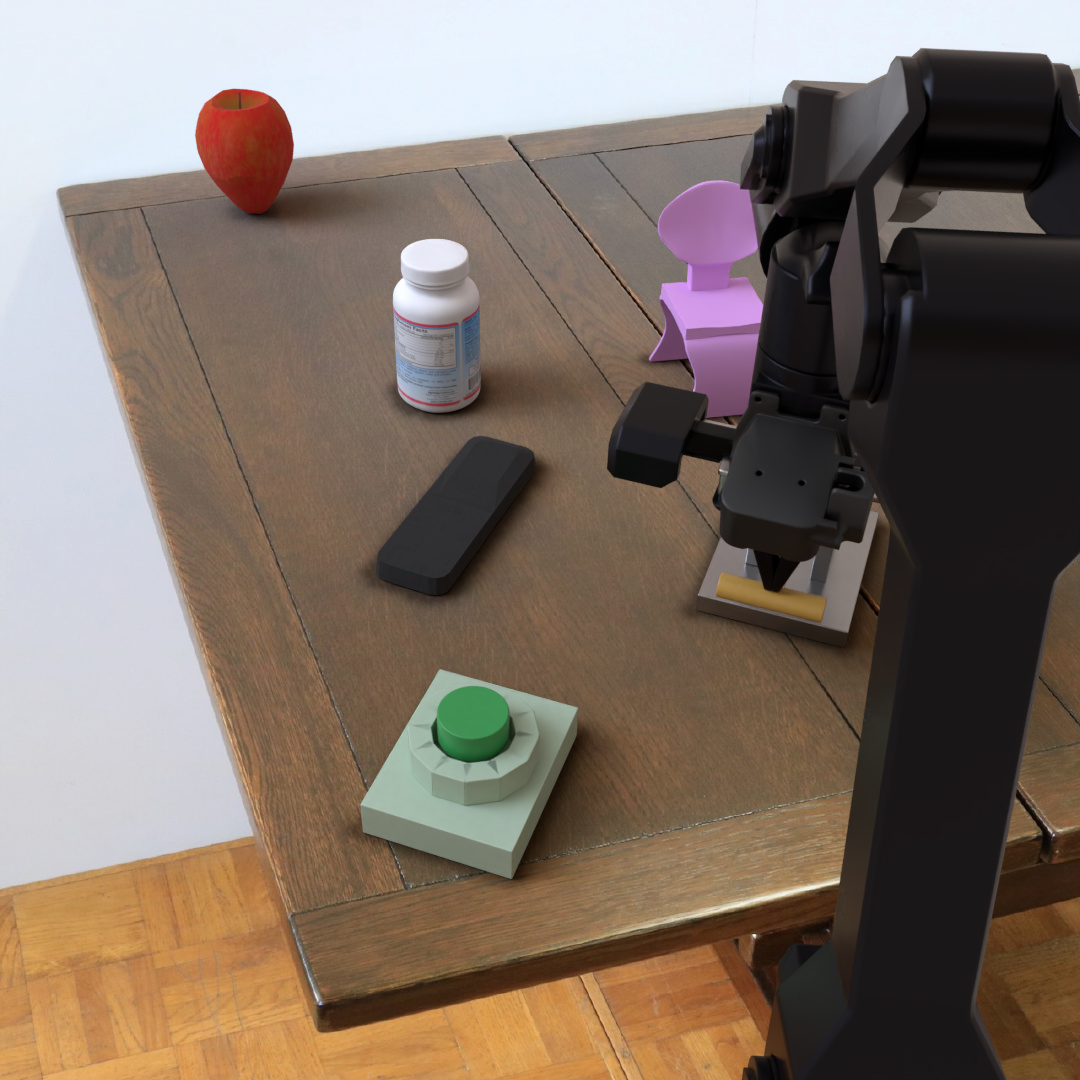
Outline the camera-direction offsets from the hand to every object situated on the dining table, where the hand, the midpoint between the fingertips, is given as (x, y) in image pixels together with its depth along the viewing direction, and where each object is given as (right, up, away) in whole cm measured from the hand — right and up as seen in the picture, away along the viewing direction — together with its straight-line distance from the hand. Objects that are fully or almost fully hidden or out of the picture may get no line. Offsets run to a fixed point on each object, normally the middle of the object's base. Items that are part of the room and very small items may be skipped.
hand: (772, 587), depth 74 cm
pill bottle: (-20, +13, +24) cm, 34 cm away
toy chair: (-1, +14, +25) cm, 29 cm away
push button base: (-16, -10, -4) cm, 20 cm away
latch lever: (+2, +3, +4) cm, 5 cm away
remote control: (-18, +4, +12) cm, 22 cm away
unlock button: (-16, -7, -7) cm, 19 cm away
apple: (-39, +32, +45) cm, 68 cm away
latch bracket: (+3, +1, +9) cm, 10 cm away
